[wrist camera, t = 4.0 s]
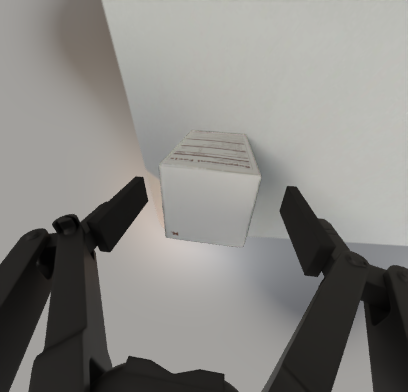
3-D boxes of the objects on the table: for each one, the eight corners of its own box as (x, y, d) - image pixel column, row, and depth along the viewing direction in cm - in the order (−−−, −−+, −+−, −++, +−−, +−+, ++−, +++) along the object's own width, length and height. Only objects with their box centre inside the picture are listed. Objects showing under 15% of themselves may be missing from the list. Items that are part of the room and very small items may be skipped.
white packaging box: (238, 183, 26) (243, 251, 15) (189, 178, 26) (162, 239, 16) (248, 132, 22) (265, 176, 11) (190, 127, 22) (154, 163, 12)
